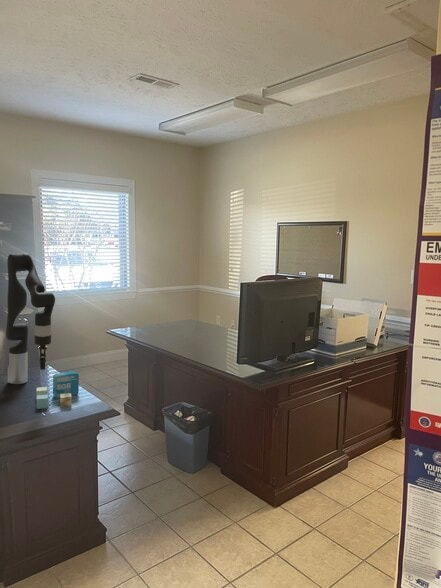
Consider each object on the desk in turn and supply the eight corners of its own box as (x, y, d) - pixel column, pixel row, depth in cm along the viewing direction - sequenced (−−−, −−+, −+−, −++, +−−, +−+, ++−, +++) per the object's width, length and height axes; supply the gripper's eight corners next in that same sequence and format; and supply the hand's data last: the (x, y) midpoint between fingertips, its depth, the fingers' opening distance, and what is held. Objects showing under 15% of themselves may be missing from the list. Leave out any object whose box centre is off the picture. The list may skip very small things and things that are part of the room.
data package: (55, 398, 219) (55, 376, 218) (52, 396, 223) (52, 373, 221) (78, 394, 227) (78, 373, 225) (75, 392, 230) (76, 370, 229)
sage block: (36, 400, 216) (36, 391, 216) (36, 396, 221) (36, 387, 220) (47, 399, 218) (47, 390, 217) (47, 396, 223) (47, 386, 222)
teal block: (36, 409, 206) (36, 399, 205) (36, 405, 211) (36, 395, 210) (47, 408, 208) (47, 398, 207) (47, 404, 212) (47, 394, 212)
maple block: (60, 407, 210) (60, 397, 209) (60, 403, 214) (60, 394, 213) (71, 406, 211) (71, 396, 211) (70, 402, 216) (70, 393, 215)
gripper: (34, 330, 210) (34, 362, 212) (34, 337, 197) (33, 371, 199) (51, 330, 212) (50, 362, 215) (51, 337, 199) (51, 370, 202)
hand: (42, 366), depth 207 cm, fingers open, 8 cm apart
